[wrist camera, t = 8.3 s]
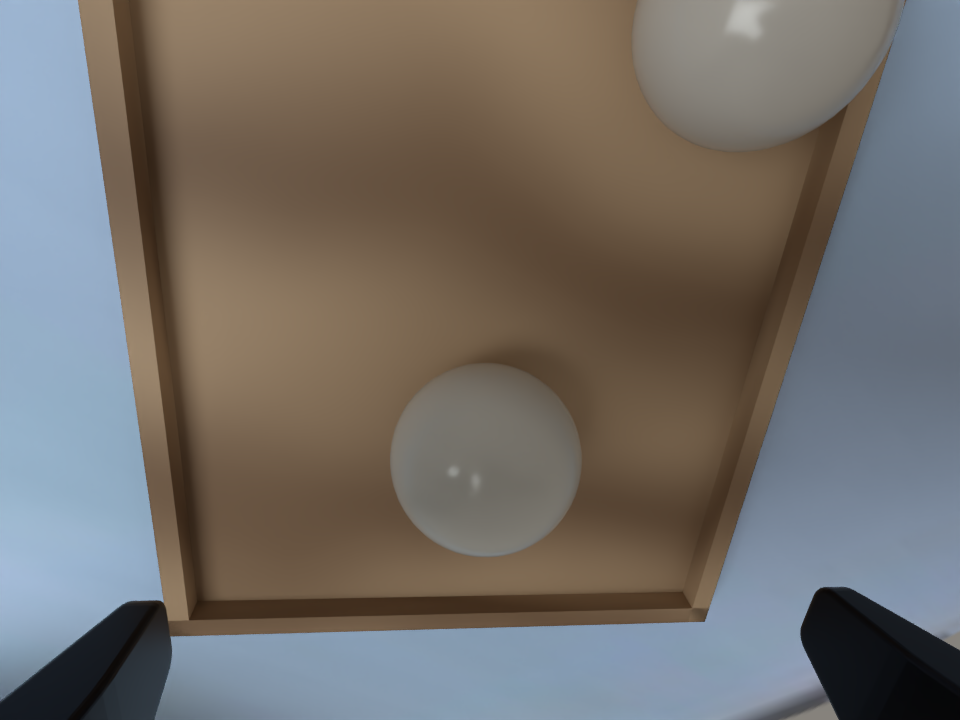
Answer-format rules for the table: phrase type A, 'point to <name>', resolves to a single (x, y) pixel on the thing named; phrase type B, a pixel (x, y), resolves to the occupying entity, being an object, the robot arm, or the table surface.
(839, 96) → the pebble
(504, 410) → the pebble
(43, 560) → the table surface
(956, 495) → the table surface
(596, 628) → the table surface
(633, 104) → the tray
